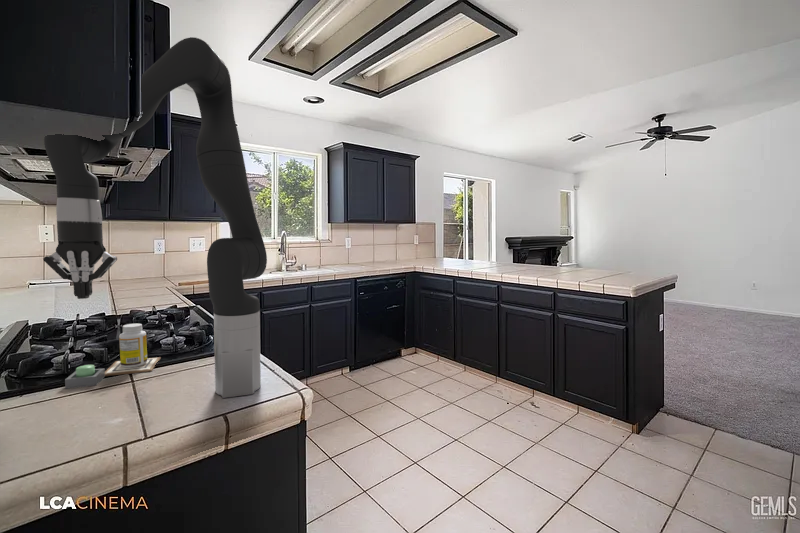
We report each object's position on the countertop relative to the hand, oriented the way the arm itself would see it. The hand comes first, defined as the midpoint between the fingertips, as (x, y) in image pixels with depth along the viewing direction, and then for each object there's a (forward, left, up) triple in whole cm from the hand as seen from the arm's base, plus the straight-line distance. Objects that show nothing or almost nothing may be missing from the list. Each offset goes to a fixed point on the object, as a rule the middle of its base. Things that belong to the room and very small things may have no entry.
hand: (83, 298), depth 82 cm
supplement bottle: (+8, -7, -19) cm, 22 cm away
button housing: (-1, 0, -19) cm, 19 cm away
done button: (-1, 0, -18) cm, 18 cm away
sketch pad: (+7, -7, -19) cm, 22 cm away
